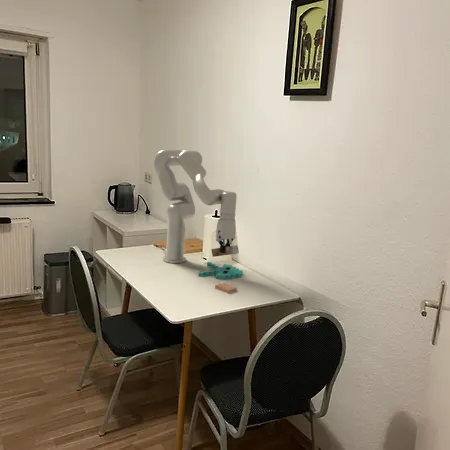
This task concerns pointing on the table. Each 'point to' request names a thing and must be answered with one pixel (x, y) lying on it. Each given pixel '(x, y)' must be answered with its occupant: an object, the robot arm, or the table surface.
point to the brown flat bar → (228, 251)
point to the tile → (226, 287)
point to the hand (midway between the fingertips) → (224, 251)
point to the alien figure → (222, 271)
